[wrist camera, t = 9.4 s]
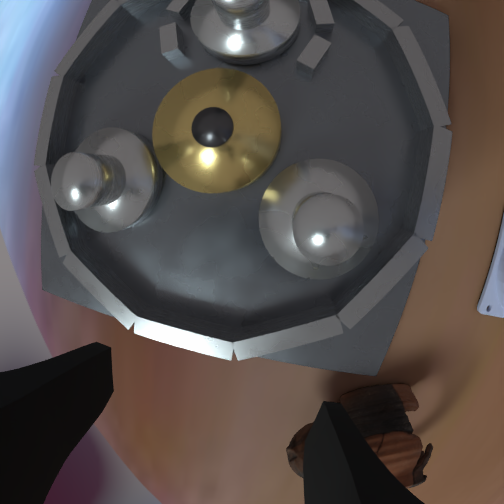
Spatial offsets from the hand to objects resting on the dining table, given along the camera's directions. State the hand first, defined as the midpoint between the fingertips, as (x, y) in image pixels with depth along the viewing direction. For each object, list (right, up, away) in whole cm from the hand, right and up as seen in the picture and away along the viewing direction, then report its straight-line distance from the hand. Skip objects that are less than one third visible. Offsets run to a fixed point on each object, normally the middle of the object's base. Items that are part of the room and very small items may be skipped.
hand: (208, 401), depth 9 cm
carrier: (0, +11, +8) cm, 14 cm away
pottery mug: (+10, -9, +11) cm, 17 cm away
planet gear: (+1, +18, +5) cm, 19 cm away
